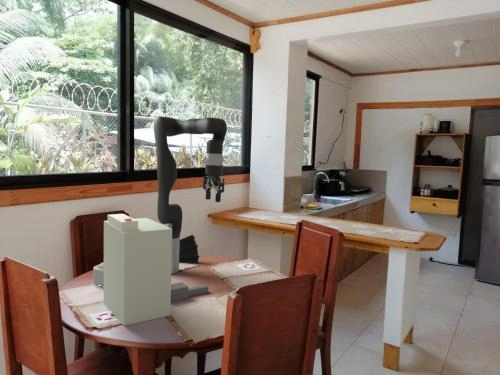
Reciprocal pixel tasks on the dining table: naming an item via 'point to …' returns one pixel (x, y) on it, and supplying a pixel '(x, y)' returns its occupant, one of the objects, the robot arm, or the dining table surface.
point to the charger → (185, 291)
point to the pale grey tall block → (137, 268)
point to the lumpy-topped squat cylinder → (98, 274)
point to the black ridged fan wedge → (188, 250)
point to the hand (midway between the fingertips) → (212, 200)
